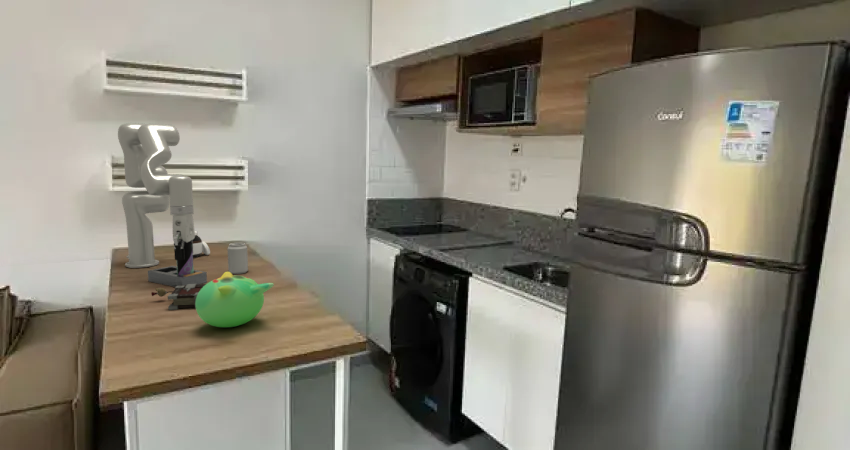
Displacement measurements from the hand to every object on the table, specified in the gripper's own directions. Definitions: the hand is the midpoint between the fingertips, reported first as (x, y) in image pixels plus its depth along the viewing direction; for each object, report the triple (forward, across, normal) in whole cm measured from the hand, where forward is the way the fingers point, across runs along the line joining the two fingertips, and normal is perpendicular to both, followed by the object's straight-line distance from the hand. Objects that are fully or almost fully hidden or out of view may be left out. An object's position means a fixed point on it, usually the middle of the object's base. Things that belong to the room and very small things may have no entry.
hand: (184, 256), depth 180 cm
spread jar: (+11, +52, +11) cm, 54 cm away
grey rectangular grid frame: (+10, +3, +4) cm, 11 cm away
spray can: (+10, 0, 0) cm, 10 cm away
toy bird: (+10, -49, -27) cm, 57 cm away
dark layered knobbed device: (+10, -25, -9) cm, 29 cm away
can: (+10, +16, -15) cm, 24 cm away
